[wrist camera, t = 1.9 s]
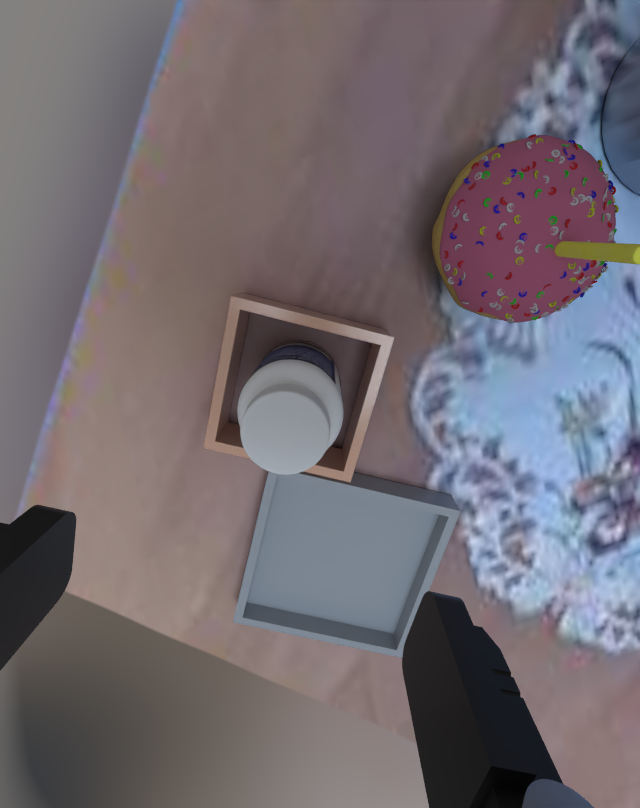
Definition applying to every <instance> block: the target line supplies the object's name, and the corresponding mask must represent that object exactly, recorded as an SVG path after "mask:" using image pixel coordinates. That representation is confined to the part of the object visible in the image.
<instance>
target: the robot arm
mask: <svg viewBox="0 0 640 808" xmlns="http://www.w3.org/2000/svg"><path fill="white" fill-rule="evenodd" d="M602 136H603V142H604V148H605V153H606V155H607V158H608V160H609V163H610V165H611V167H612V169H613V171H614V172H615V173H616V175H617V176H618V178H619V179H620V180H621V182H622V183H624V184H625V185H626V186H627V187H629V188H630V189H631V190H632V191H634V192H635V193H637V194H640V38H639V40H638V41H637V42H636V43H635V44H634V45H633V47H632V48H631V49H630V50H629V51H628V52H627V54H626V56H625V57H624V59H623V61H622V62H621V64H620V66H619V67H618V69H617V71H616V72H615V75H614V77H613V80H612V82H611V85H610V87H609V90H608V92H607V96H606V101H605V106H604V110H603V122H602ZM75 529H76V516H75V514H74V513H73V512H69V511H64V510H60V509H55V508H51V507H46V506H42V505H35V506H33V507H31V508H30V509H29V510H27V511H26V512H25V513H24V514H22V515H21V516H20V517H18V518H17V519H16V520H15V521H13V522H12V523H11V524H4V523H0V670H1V669H2V668H3V667H4V666H5V664H6V663H7V662H8V661H9V660H10V658H11V657H12V656H13V655H14V654H15V652H16V651H17V650H18V649H19V647H20V646H21V645H22V644H23V643H24V641H25V640H26V639H27V638H28V637H29V635H30V634H31V633H32V632H33V631H34V629H35V628H36V627H37V626H38V625H39V623H40V622H41V621H42V620H43V618H44V617H45V616H46V615H47V613H48V612H49V611H50V610H51V609H52V608H53V606H54V605H55V604H56V603H57V601H58V600H59V599H60V597H61V596H62V594H63V592H64V591H65V589H66V587H67V584H68V582H69V579H70V576H71V572H72V563H73V552H74V541H75ZM402 668H403V675H404V681H405V686H406V691H407V696H408V701H409V706H410V711H411V716H412V721H413V727H414V732H415V737H416V742H417V747H418V752H419V757H420V762H421V768H422V772H423V777H424V783H425V788H426V793H427V798H428V803H429V808H594V807H593V806H592V805H591V804H590V803H589V802H588V801H587V800H585V799H584V798H583V797H582V796H581V795H579V794H578V793H577V792H575V791H574V790H572V789H571V788H569V787H567V786H566V785H564V784H563V782H562V780H561V778H560V776H559V774H558V772H557V770H556V768H555V765H554V763H553V761H552V759H551V757H550V755H549V753H548V751H547V748H546V746H545V744H544V742H543V740H542V738H541V736H540V733H539V731H538V729H537V727H536V725H535V723H534V721H533V719H532V716H531V714H530V712H529V710H528V708H527V706H526V704H525V701H524V699H523V698H521V697H520V691H519V689H518V686H517V684H516V682H515V680H514V678H513V677H511V672H510V669H509V667H508V665H507V663H506V661H505V659H504V657H503V654H502V652H501V650H500V648H499V647H498V646H497V645H496V644H495V642H494V641H493V640H492V639H491V638H490V637H489V635H488V634H487V633H486V632H485V631H484V629H483V628H482V627H478V626H474V625H473V623H472V621H471V618H470V616H469V614H468V611H467V609H466V606H465V604H464V602H463V601H462V599H460V598H458V597H453V596H448V595H444V594H439V593H435V592H430V591H427V592H426V593H425V594H424V595H423V597H422V600H421V602H420V605H419V607H418V610H417V612H416V615H415V618H414V620H413V623H412V625H411V628H410V630H409V633H408V635H407V638H406V641H405V644H404V649H403V657H402Z"/></svg>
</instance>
